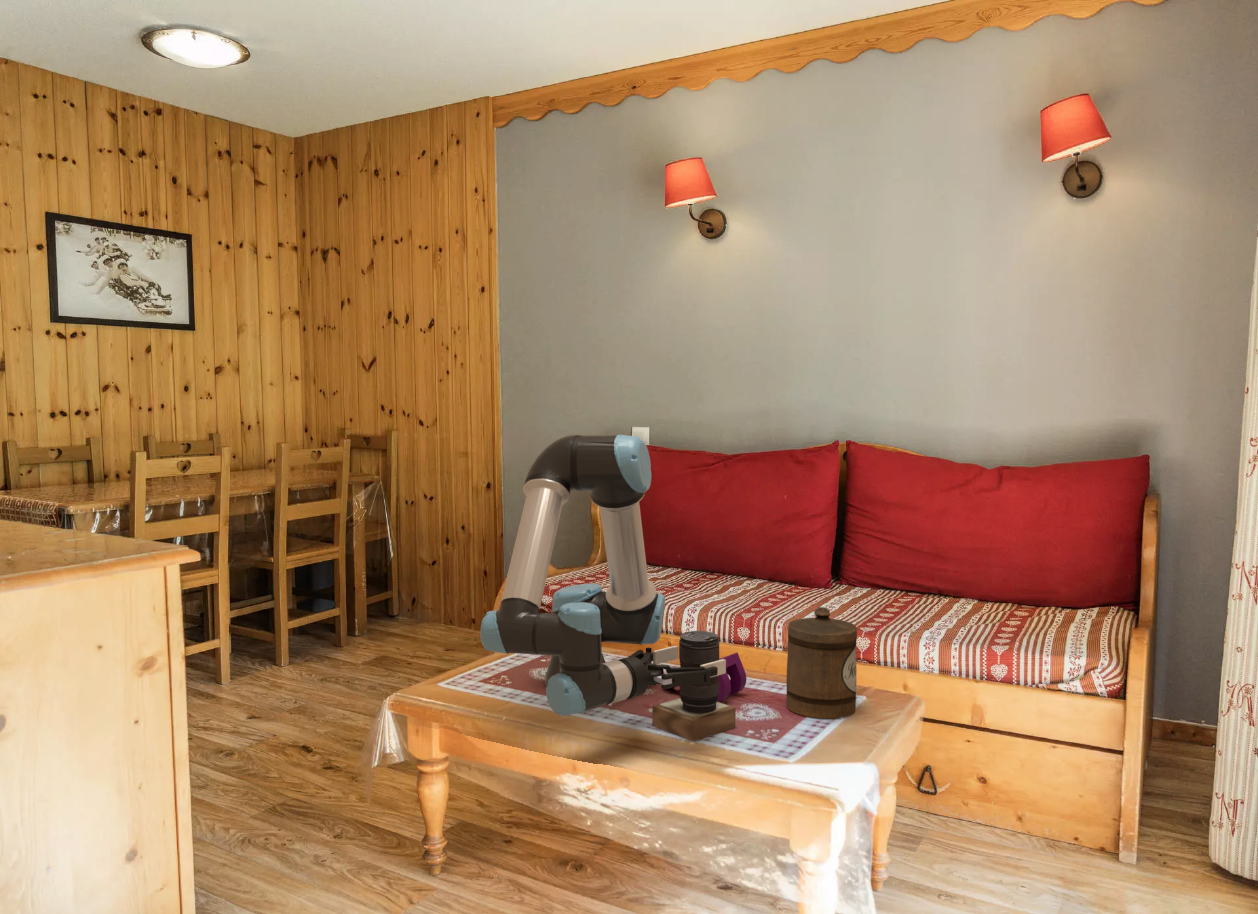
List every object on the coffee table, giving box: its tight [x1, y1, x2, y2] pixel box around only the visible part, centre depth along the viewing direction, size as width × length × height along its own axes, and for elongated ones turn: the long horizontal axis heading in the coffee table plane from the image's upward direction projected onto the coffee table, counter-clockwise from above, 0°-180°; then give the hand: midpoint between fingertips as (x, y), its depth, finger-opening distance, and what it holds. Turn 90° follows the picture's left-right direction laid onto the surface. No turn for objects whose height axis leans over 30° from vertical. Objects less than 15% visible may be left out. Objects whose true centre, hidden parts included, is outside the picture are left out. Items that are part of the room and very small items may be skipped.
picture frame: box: [651, 697, 737, 742], centre depth 180 cm, size 12×12×4 cm
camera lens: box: [678, 630, 720, 713], centre depth 177 cm, size 8×8×15 cm
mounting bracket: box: [666, 652, 747, 703], centre depth 201 cm, size 9×8×18 cm
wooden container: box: [785, 606, 858, 720], centre depth 191 cm, size 15×15×22 cm
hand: (700, 658), depth 180 cm, fingers open, 13 cm apart
